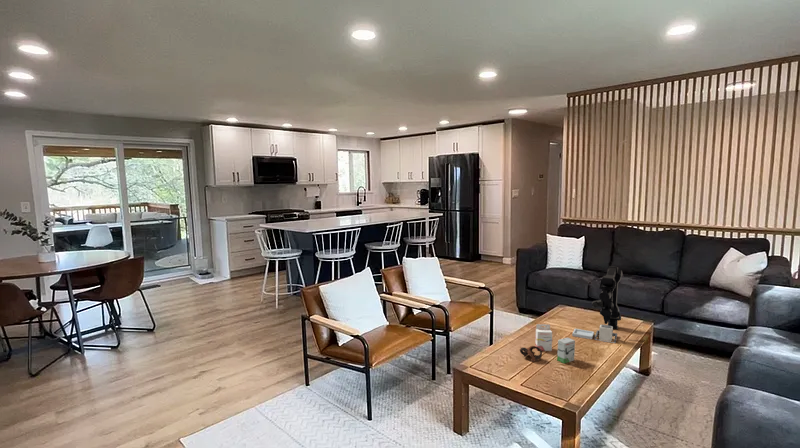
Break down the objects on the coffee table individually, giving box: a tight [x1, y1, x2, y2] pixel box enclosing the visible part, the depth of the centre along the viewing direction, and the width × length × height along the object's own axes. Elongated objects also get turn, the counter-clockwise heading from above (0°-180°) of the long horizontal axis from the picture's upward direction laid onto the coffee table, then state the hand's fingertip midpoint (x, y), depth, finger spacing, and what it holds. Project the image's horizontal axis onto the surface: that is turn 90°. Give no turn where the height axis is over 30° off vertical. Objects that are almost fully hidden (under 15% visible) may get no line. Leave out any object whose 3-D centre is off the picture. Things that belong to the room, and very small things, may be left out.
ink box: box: [556, 337, 576, 364], centre depth 225 cm, size 9×5×12 cm, turn 117°
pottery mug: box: [519, 345, 543, 363], centre depth 228 cm, size 12×9×8 cm
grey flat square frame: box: [594, 329, 618, 344], centre depth 255 cm, size 12×12×2 cm
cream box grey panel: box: [598, 324, 614, 342], centre depth 253 cm, size 5×7×9 cm
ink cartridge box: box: [534, 323, 553, 352], centre depth 240 cm, size 9×5×15 cm, turn 84°
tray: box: [571, 328, 595, 340], centre depth 260 cm, size 10×12×2 cm
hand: (606, 321), depth 252 cm, fingers open, 9 cm apart
